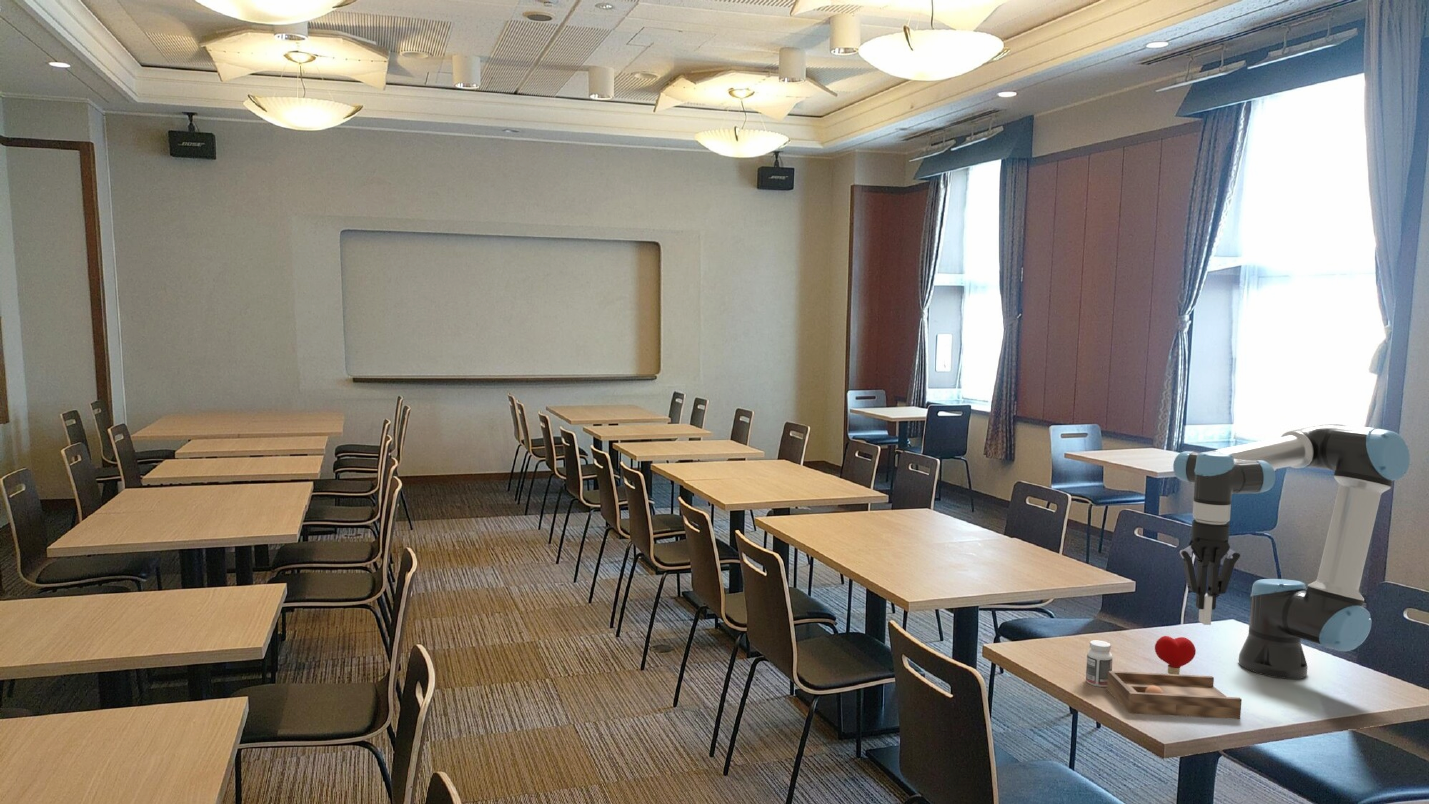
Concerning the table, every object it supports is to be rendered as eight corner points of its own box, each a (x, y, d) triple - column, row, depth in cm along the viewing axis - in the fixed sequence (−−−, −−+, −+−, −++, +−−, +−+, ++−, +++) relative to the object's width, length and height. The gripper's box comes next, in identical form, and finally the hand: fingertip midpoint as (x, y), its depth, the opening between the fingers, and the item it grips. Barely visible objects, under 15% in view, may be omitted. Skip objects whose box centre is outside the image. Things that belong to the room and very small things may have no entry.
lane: (1210, 694, 219) (1211, 676, 219) (1240, 719, 205) (1241, 699, 205) (1106, 689, 220) (1108, 670, 220) (1129, 713, 207) (1130, 693, 206)
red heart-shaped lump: (1157, 680, 227) (1160, 640, 227) (1149, 670, 234) (1151, 631, 234) (1198, 683, 226) (1200, 643, 225) (1188, 673, 233) (1191, 634, 232)
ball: (1154, 702, 215) (1162, 687, 214) (1161, 709, 211) (1170, 694, 210) (1138, 695, 215) (1147, 680, 214) (1145, 701, 211) (1153, 686, 210)
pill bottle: (1111, 681, 226) (1113, 641, 225) (1110, 689, 221) (1113, 648, 220) (1086, 677, 228) (1088, 638, 227) (1084, 684, 223) (1087, 644, 222)
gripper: (1232, 518, 213) (1226, 618, 214) (1174, 516, 213) (1168, 616, 215) (1249, 525, 205) (1242, 629, 207) (1188, 523, 206) (1182, 627, 208)
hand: (1204, 622), depth 211 cm, fingers closed
